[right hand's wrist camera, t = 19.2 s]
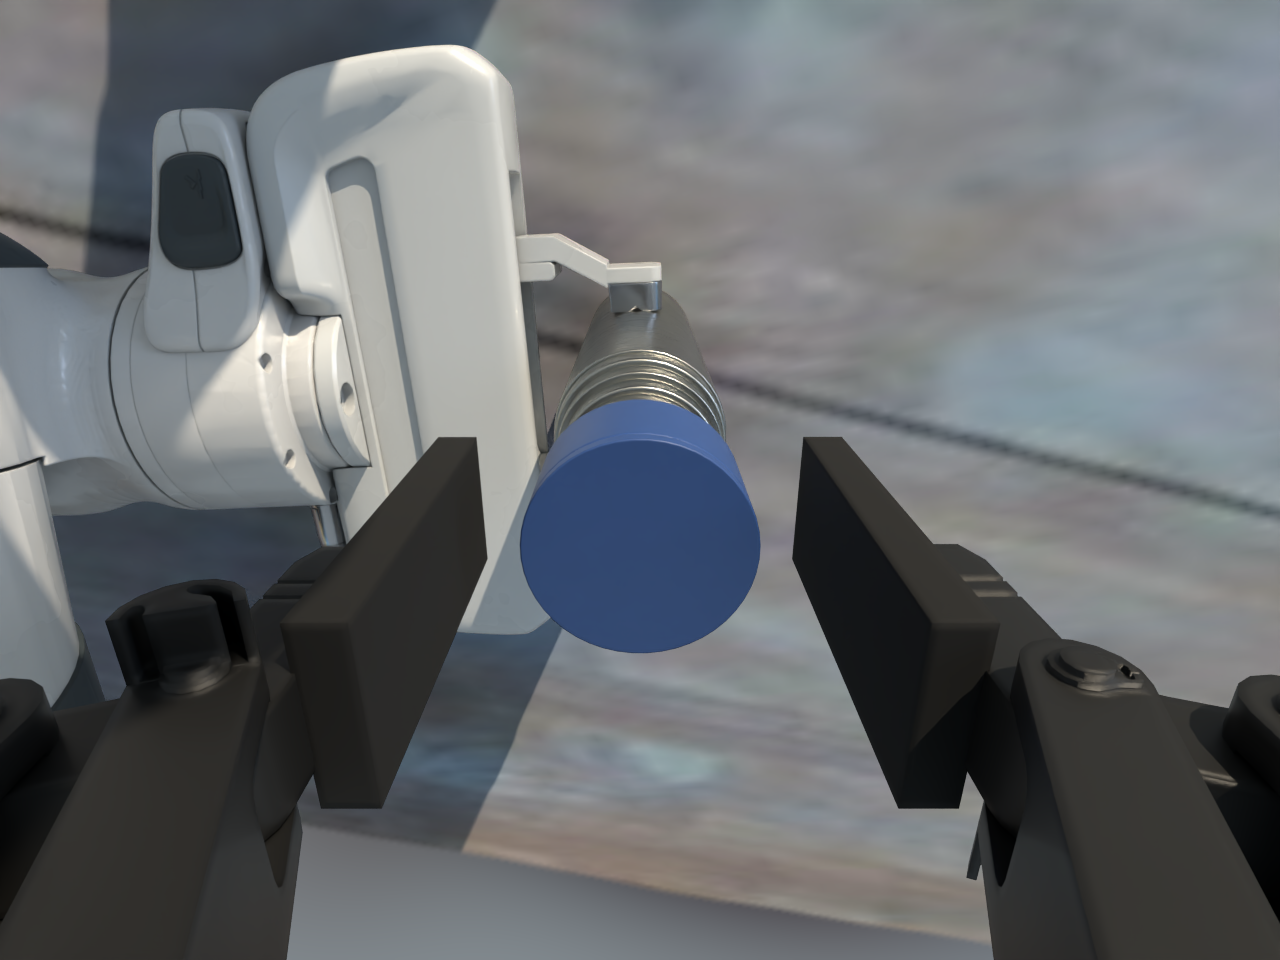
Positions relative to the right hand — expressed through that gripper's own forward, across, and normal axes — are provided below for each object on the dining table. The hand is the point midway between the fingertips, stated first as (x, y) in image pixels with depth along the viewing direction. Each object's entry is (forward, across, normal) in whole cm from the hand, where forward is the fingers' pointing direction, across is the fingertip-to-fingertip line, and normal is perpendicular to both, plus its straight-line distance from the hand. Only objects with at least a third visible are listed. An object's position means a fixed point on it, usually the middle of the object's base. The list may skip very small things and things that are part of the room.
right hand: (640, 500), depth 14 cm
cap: (-2, 0, 0) cm, 2 cm away
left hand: (+12, -1, 0) cm, 12 cm away
